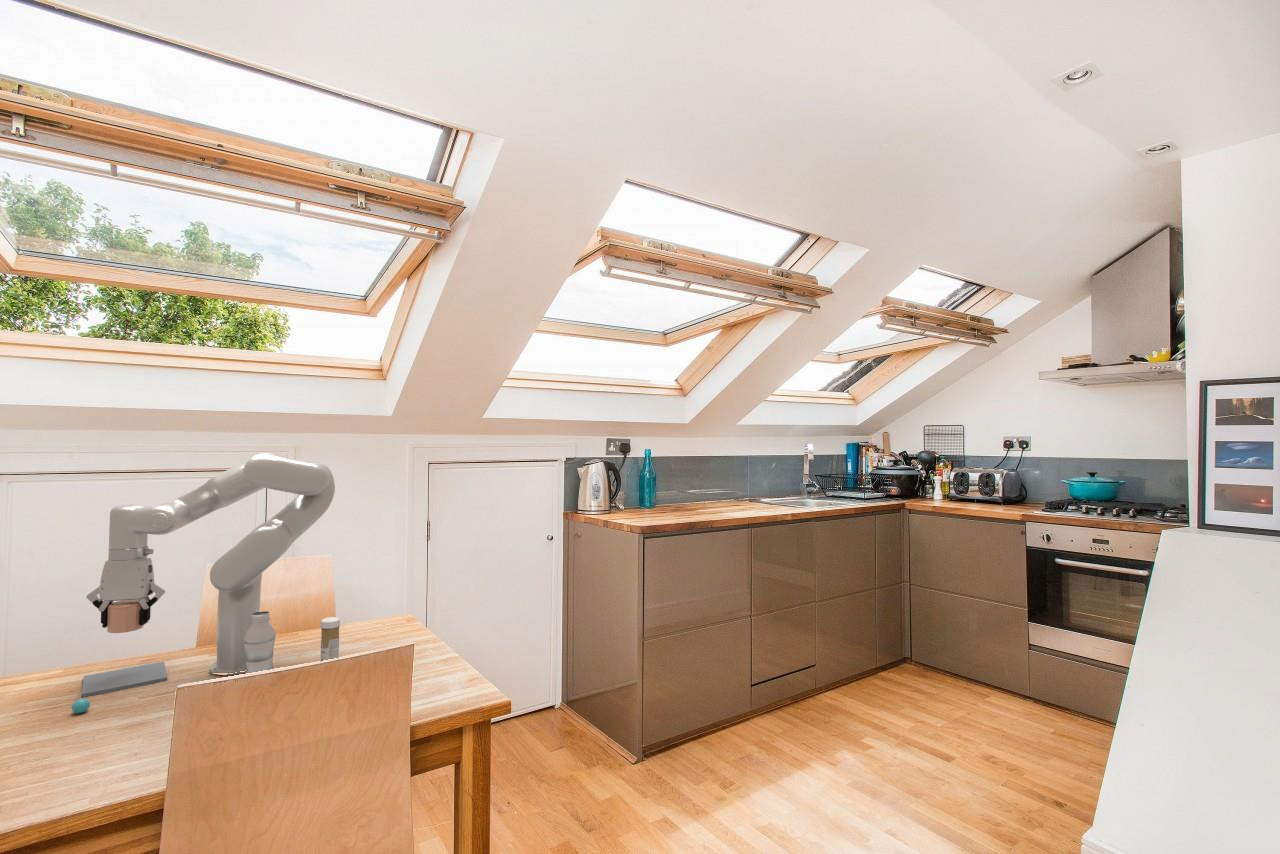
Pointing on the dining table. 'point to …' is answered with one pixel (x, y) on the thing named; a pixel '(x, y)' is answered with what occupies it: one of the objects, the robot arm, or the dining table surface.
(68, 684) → the dining table surface
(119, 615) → the peach domed cylinder
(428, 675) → the dining table surface
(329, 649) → the sprinkles bottle
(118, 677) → the slate mat
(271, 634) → the plastic bottle
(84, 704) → the teal ball
